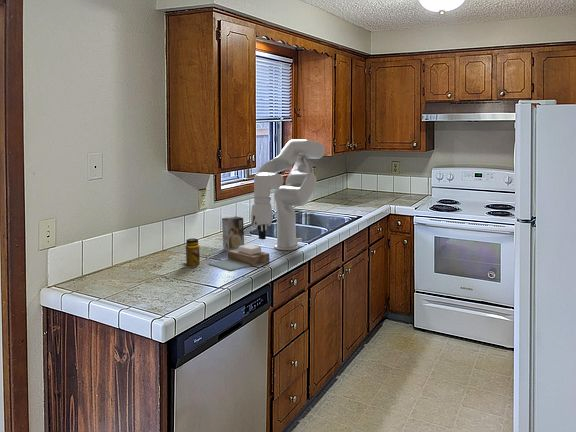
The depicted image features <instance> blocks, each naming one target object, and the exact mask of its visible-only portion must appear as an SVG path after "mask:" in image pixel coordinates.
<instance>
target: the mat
mask: <svg viewBox="0 0 576 432" xmlns="http://www.w3.org/2000/svg"><path fill="white" fill-rule="evenodd" d="M208 265H210V266H212V267H217V268H218V269H223V270H226V271H229V272H233V271H237V270H241V269H244V268H248V267H252V266H251V265H249V264H246V263H242V262H238V261H235V260H231V259H228V258H225V259H221V260H218V261H212V262H210V263H208Z"/></svg>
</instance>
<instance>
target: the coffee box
mask: <svg viewBox="0 0 576 432" xmlns="http://www.w3.org/2000/svg"><path fill="white" fill-rule="evenodd" d="M221 224H222V225H221V226H222V246H223V247H222V249H223V250H225V251H227V252H228V251H230V250H234V249H239V246H242V245H245V231H244V230H245V229H244V218H243V217H242V216H230V217H223V218H222V217H221Z"/></svg>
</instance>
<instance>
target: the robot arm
mask: <svg viewBox="0 0 576 432" xmlns="http://www.w3.org/2000/svg"><path fill="white" fill-rule="evenodd" d="M324 154H325V146H324V144H323V143H321V142H319V141H314V140H311V139H290V140H289V141H288V142H287V143H285V145H284V147H283V148H282V149H281V151H280V152H279V154H278V155H277V156H276V157H274V158H272V159H270V160H268V161H266V162H265V163H264V164H263V165H261V166H260V168H258V170H257V172H256V174H254V178H253V188H254V189H253V199H254V200H253V203H252V206H251V214H250V224H252V227H253V228H255V229H257V231H258V239H260V240H266V238H267V237H266V236H267V233H266V232H267V231H268V227H270V226H272V222H273V209H272V203H271V200H272V197H271V189H273V190H274V200H275V207H276V209H275V210H276V244H274V245H273V248H274V249H275V250H279V251H294V250H297V249H299V248H300V245H299V244H298V243H300V242H302V241H303V238H302V237H296V236H297V235H296V229H297V227H296V223H297V221H296V211H295V208H294V206H295V207H304V206H305V205H307V203H309V200H310V198H311V197H312V195H313V193H314V191H315V189H316V187H317V177H316V175H315V173H313V172H310V167H309V166H310V165H309V164H308V162H307V159H312V160H313V159H314V160H320V159H321V158H323V157H324ZM290 168H291V170H290V171H289V173H288V175H287V176H286V179H285V181H284V177H283V175H282V174H280V172H283V171H287V170H289V169H290ZM284 182H285V185H284Z"/></svg>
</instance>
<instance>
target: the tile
mask: <svg viewBox="0 0 576 432" xmlns="http://www.w3.org/2000/svg"><path fill="white" fill-rule="evenodd" d="M239 252H243V253H247V254H251V255H252V254H256V253H260V252H262V247H261V246H258V245H255V244H250V243H247V244H244V245H242V246H239Z"/></svg>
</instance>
